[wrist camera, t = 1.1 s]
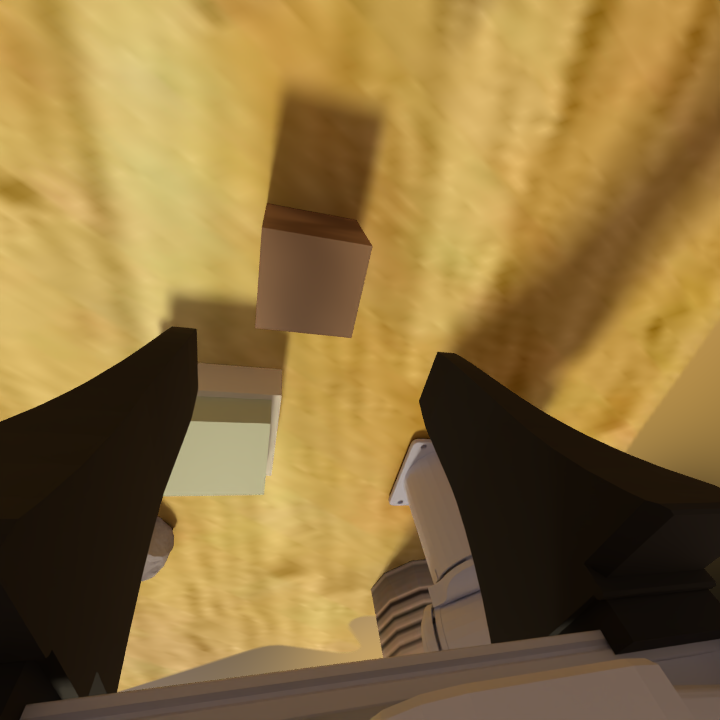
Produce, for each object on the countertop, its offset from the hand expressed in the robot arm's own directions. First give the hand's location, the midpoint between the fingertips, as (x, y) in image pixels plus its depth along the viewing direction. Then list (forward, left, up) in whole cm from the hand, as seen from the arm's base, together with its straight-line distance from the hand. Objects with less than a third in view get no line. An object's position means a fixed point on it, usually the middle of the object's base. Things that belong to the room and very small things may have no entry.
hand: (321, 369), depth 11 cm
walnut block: (0, 0, -10) cm, 11 cm away
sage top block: (+4, +11, -8) cm, 14 cm away
